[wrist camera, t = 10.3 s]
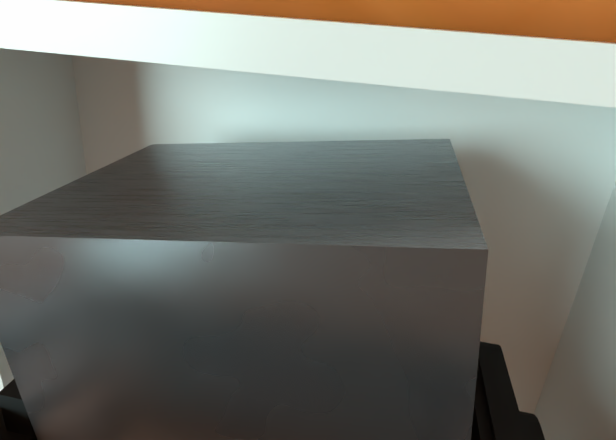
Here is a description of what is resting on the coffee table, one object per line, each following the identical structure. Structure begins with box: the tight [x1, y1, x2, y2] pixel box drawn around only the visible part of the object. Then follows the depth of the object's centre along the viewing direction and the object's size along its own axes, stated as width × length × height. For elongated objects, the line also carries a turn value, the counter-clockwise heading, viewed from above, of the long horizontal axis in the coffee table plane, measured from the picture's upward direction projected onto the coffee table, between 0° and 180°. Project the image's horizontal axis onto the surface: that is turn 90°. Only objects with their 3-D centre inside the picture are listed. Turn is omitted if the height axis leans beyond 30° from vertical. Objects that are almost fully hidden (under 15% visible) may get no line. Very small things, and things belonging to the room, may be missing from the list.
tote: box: [0, 0, 616, 440], centre depth 12 cm, size 15×15×5 cm
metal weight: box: [0, 139, 488, 440], centre depth 10 cm, size 6×10×5 cm, turn 3°
